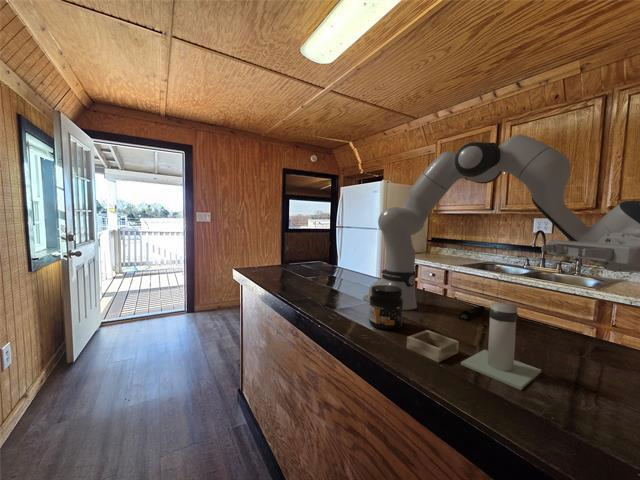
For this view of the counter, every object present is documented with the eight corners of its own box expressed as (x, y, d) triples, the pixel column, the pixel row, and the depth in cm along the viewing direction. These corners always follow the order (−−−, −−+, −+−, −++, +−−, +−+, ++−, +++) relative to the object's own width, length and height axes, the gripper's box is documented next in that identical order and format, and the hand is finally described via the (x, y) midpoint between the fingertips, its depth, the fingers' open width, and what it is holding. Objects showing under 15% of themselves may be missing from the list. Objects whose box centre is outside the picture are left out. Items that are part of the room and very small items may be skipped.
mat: (460, 364, 65) (460, 362, 65) (484, 351, 72) (484, 349, 72) (520, 390, 55) (521, 387, 55) (541, 372, 62) (541, 369, 62)
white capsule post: (482, 364, 64) (486, 304, 64) (492, 358, 67) (495, 301, 67) (508, 373, 60) (512, 309, 59) (517, 367, 63) (521, 306, 63)
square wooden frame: (406, 348, 73) (407, 336, 73) (426, 340, 78) (426, 329, 78) (438, 362, 66) (439, 350, 66) (458, 352, 71) (458, 341, 71)
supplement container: (364, 327, 87) (365, 289, 87) (373, 317, 97) (374, 283, 96) (398, 333, 83) (400, 293, 82) (404, 322, 92) (406, 287, 91)
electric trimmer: (487, 315, 104) (488, 306, 104) (468, 322, 95) (469, 313, 95) (477, 312, 107) (477, 304, 107) (457, 319, 98) (458, 310, 98)
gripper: (578, 235, 73) (526, 234, 72) (681, 241, 52) (610, 239, 52) (576, 259, 73) (525, 258, 73) (678, 274, 53) (606, 272, 52)
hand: (561, 250), depth 62 cm, fingers open, 8 cm apart
